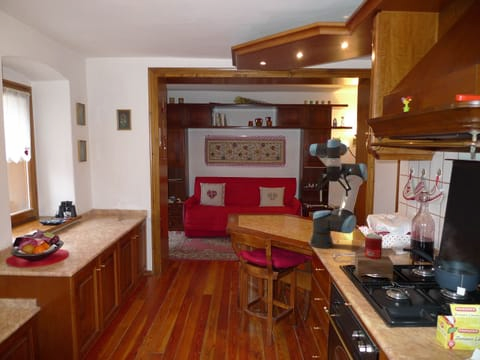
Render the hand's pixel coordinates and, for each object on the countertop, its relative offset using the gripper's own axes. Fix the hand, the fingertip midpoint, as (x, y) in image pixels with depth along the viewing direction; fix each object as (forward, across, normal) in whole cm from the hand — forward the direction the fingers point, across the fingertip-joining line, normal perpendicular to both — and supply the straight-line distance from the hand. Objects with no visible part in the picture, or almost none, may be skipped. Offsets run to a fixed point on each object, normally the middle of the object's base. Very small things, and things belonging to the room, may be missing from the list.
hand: (332, 201), depth 188 cm
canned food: (+25, +20, -22) cm, 39 cm away
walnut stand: (+33, +20, -22) cm, 44 cm away
